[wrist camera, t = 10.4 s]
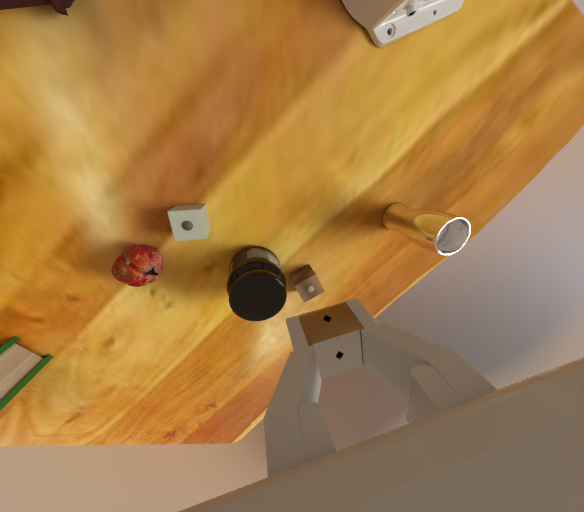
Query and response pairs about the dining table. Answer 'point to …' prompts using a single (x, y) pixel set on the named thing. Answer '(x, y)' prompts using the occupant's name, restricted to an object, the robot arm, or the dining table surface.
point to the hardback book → (17, 369)
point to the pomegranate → (138, 265)
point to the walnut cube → (306, 283)
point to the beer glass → (428, 227)
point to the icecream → (37, 4)
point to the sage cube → (189, 222)
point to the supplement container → (256, 284)
